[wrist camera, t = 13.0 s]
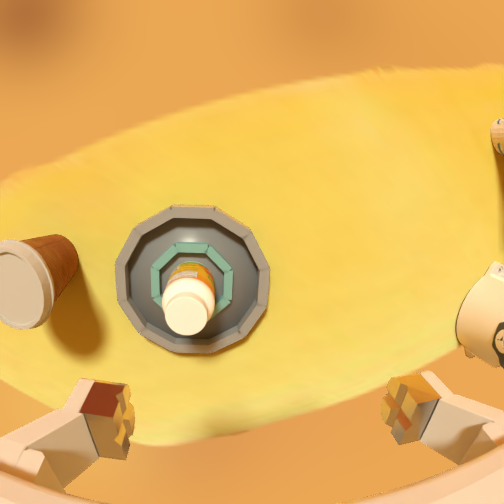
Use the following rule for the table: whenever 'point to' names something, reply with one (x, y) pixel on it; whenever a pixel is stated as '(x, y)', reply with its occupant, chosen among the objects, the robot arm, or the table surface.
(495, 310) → the robot arm
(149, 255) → the round tray
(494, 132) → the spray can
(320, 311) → the table surface
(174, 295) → the supplement bottle
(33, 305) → the disposable coffee cup
